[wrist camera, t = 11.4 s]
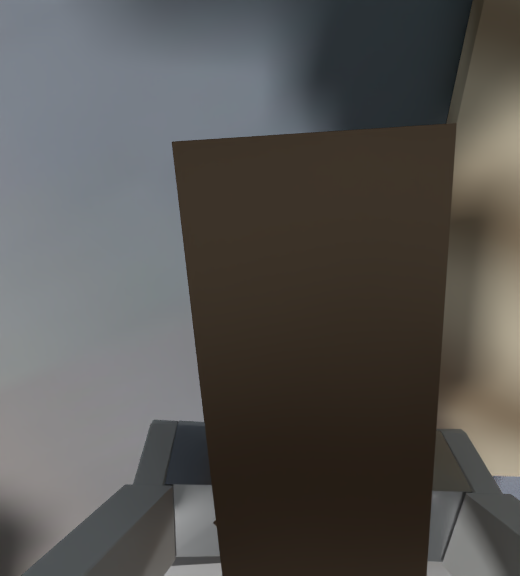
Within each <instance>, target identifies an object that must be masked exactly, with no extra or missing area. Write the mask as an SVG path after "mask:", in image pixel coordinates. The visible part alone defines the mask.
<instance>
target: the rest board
mask: <svg viewBox="0 0 520 576" xmlns="http://www.w3.org/2000/svg"><path fill="white" fill-rule="evenodd" d="M450 123H457V127H456V142H455V157H454V172H453V187H452V202H451V217H450V232H449V247H448V262H447V277H446V292H445V307H444V322H443V337H442V352H441V367H440V382H439V397H438V412H437V427H436V429H462V430H463V431H464V432H466V434H467V435H468V437H469V439H470V440H471V442H472V444H473V445H474V447H475V449H476V450H477V452H478V454H479V455H480V457H481V459H482V460H483V462H484V463H485V465H486V467H487V468H488V470H489V472H490V473H491V475H492V476H519V477H520V0H473V2H472V6H471V11H470V16H469V20H468V25H467V29H466V34H465V39H464V43H463V48H462V53H461V57H460V62H459V67H458V71H457V76H456V81H455V85H454V90H453V95H452V99H451V104H450V108H449V113H448V118H447V122H446V124H450Z"/></svg>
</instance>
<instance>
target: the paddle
mask: <svg viewBox="0 0 520 576" xmlns="http://www.w3.org/2000/svg"><path fill="white" fill-rule="evenodd" d="M456 127H457V123H450V124H435V125H420V126H405V127H389V128H374V129H359V130H344V131H328V132H313V133H298V134H283V135H267V136H252V137H237V138H222V139H206V140H191V141H176V142H172V148H173V157H174V165H175V174H176V182H177V191H178V200H179V208H180V217H181V225H182V234H183V243H184V251H185V260H186V268H187V277H188V286H189V294H190V303H191V311H192V320H193V329H194V337H195V346H196V354H197V363H198V372H199V380H200V389H201V397H202V406H203V415H204V423H205V432H206V440H207V449H208V458H209V466H210V475H211V483H212V492H213V501H214V509H215V518H216V526H217V535H218V544H219V552H220V556H205V557H175V561H174V562H173V564H172V565H171V567H170V568H169V569H168V571H167V572H166V574H165V575H164V576H452V575H451V574H450V573H449V572H448V571H447V569H446V568H445V567H444V566H443V565H442V563H443V562H433V561H428V548H429V533H430V518H431V502H432V487H433V472H434V457H435V442H436V427H437V412H438V397H439V382H440V367H441V352H442V337H443V322H444V307H445V292H446V277H447V262H448V247H449V232H450V217H451V202H452V187H453V172H454V157H455V142H456Z"/></svg>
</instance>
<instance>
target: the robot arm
mask: <svg viewBox="0 0 520 576" xmlns="http://www.w3.org/2000/svg"><path fill="white" fill-rule="evenodd" d="M205 556H220V552H219V544H218V535H217V526H216V518H215V509H214V501H213V492H212V483H211V475H210V466H209V458H208V449H207V440H206V432H205V423H204V422H194V421H166V420H153V422H152V423H151V425H150V428H149V431H148V434H147V438H146V441H145V445H144V448H143V452H142V455H141V459H140V462H139V466H138V469H137V473H136V476H135V479H134V483H133V485H124V486H123V487H122V488H121V489H119V490H118V491H117V492H116V493H115V494H114V495H113V496H111V497H110V498H109V499H108V500H107V501H106V502H105V503H103V504H102V505H101V506H100V507H99V508H98V509H97V510H95V511H94V512H93V513H92V514H91V515H90V516H89V517H87V518H86V519H85V520H84V521H83V522H82V523H81V524H80V525H78V526H77V527H76V528H75V529H74V530H73V531H72V532H70V533H69V534H68V535H67V536H66V537H65V538H64V539H62V540H61V541H60V542H59V543H58V544H57V545H56V546H54V547H53V548H52V549H51V550H50V551H49V552H48V553H46V554H45V555H44V556H43V557H42V558H41V559H40V560H38V561H37V562H36V563H35V564H34V565H33V566H32V567H30V568H29V569H28V570H27V571H26V572H25V573H24V574H22V575H21V576H164V575H165V574H166V572H167V571H168V569H169V568H170V567H171V565H172V564H173V562H174V561H175V557H205ZM428 561H433V562H443V563H442V565H443V566H444V567H445V568H446V569H447V571H448V572H449V573H450V574H451V575H452V576H520V501H519V500H518V499H517V498H515V497H514V496H512V495H511V494H503V493H502V492H501V490H500V488H499V487H498V485H497V483H496V482H495V480H494V478H493V477H492V475H491V473H490V472H489V470H488V468H487V467H486V465H485V463H484V462H483V460H482V459H481V457H480V455H479V454H478V452H477V450H476V449H475V447H474V445H473V444H472V442H471V440H470V439H469V437H468V435H467V434H466V432H464V431H463V430H462V429H436V442H435V457H434V472H433V487H432V502H431V518H430V533H429V548H428Z"/></svg>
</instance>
